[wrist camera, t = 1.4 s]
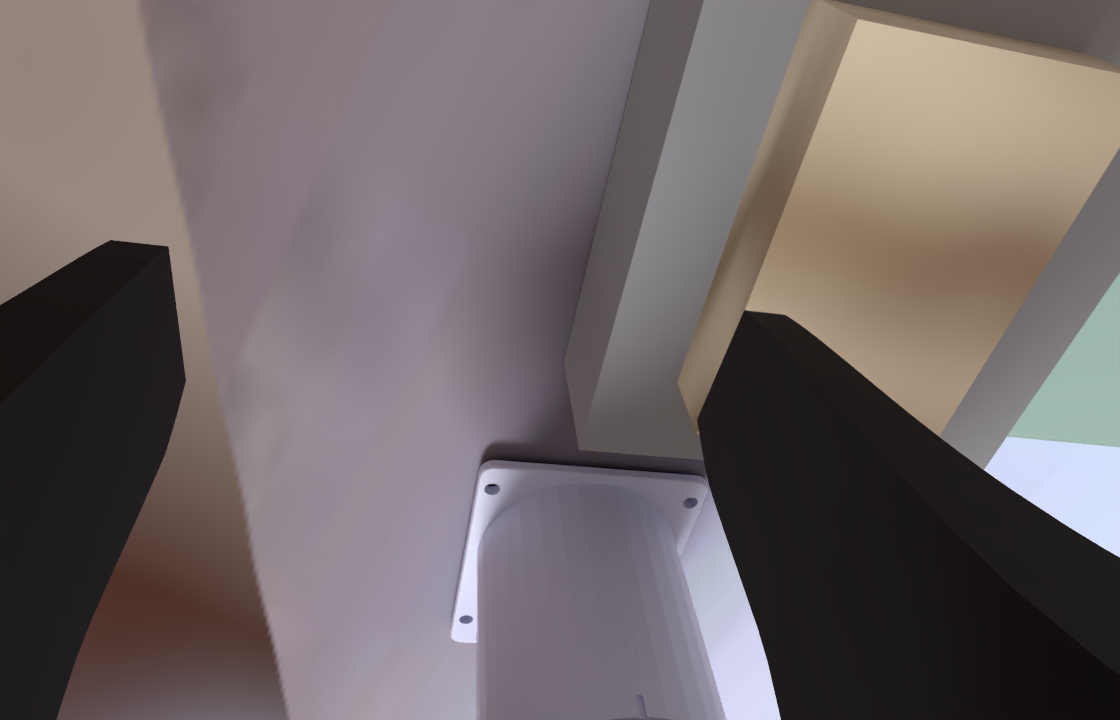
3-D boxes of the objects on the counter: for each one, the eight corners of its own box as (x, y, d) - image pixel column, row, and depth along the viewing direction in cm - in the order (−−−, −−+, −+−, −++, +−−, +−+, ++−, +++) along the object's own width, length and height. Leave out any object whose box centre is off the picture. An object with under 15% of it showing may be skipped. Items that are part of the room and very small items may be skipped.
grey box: (910, 397, 26) (974, 482, 22) (563, 362, 23) (579, 450, 20) (1179, -69, 18) (1337, -44, 15) (697, -192, 15) (758, -195, 12)
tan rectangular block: (890, 403, 20) (927, 455, 19) (677, 382, 19) (696, 434, 17) (1086, 54, 15) (1159, 81, 14) (812, -4, 14) (857, 19, 12)
